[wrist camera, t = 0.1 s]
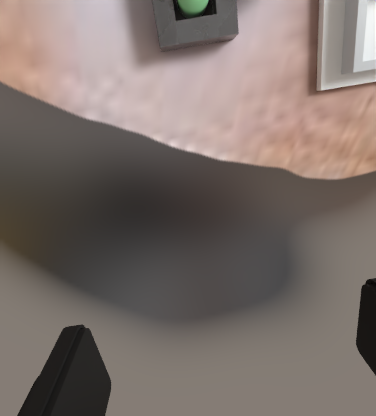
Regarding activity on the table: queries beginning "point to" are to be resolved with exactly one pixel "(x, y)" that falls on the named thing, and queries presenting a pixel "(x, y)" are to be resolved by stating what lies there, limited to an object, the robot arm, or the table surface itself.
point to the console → (195, 25)
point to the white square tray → (346, 43)
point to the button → (192, 7)
